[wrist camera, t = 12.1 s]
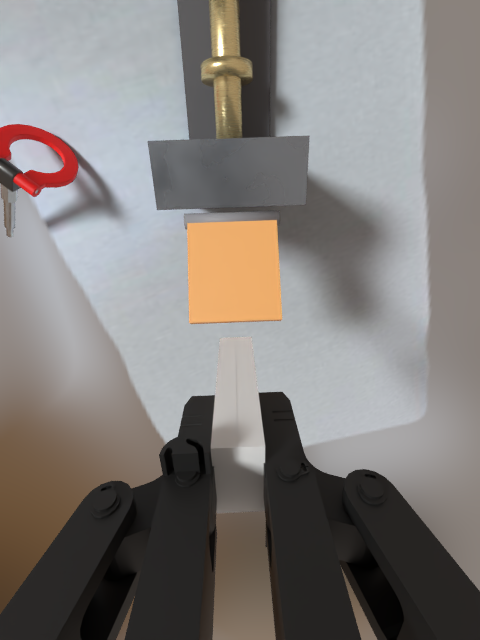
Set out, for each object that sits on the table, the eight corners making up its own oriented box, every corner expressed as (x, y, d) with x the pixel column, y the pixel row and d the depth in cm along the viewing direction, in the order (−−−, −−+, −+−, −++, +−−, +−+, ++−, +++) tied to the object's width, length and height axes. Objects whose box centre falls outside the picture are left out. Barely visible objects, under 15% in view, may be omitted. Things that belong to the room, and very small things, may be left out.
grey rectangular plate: (182, 159, 31) (147, 141, 18) (278, 156, 31) (309, 135, 18) (186, 201, 33) (157, 209, 20) (277, 197, 33) (305, 204, 20)
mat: (161, -197, 22) (159, -210, 21) (270, -200, 22) (272, -214, 21) (191, 148, 31) (190, 147, 30) (268, 145, 31) (269, 144, 30)
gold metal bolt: (188, -89, 23) (177, -157, 19) (252, -91, 23) (257, -159, 19) (206, 173, 31) (202, 170, 26) (255, 171, 31) (258, 168, 26)
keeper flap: (183, 211, 20) (186, 322, 19) (279, 207, 20) (285, 319, 19) (186, 217, 21) (188, 324, 20) (277, 214, 21) (283, 320, 20)
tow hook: (93, 162, 31) (40, 196, 26) (77, 223, 38) (34, 257, 34) (31, 112, 29) (-38, 138, 24) (27, 186, 36) (-26, 217, 32)
